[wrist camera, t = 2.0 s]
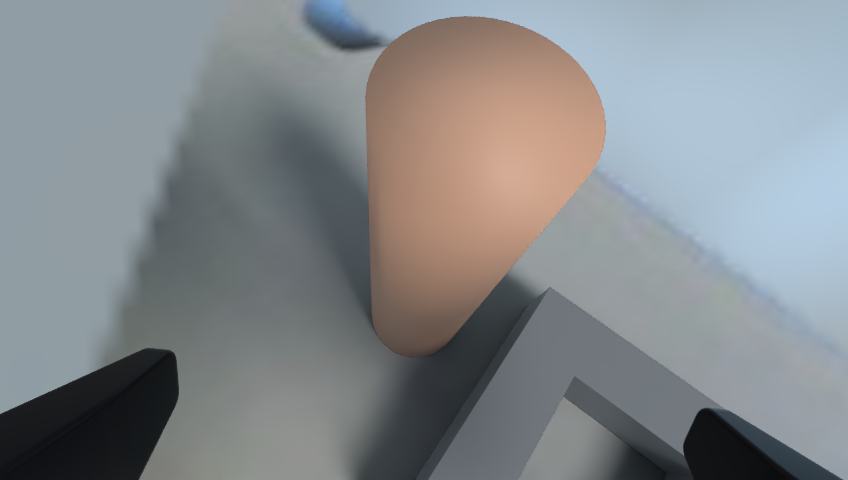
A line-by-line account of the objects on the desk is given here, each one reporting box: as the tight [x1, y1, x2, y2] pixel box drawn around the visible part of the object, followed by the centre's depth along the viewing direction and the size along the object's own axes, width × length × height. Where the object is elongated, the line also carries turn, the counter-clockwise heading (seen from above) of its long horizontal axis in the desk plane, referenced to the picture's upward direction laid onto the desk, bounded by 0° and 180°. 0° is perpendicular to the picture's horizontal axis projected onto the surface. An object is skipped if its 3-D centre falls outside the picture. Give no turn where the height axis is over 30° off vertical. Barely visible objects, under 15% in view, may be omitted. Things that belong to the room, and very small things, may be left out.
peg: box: [365, 16, 606, 357], centre depth 14 cm, size 4×4×14 cm
